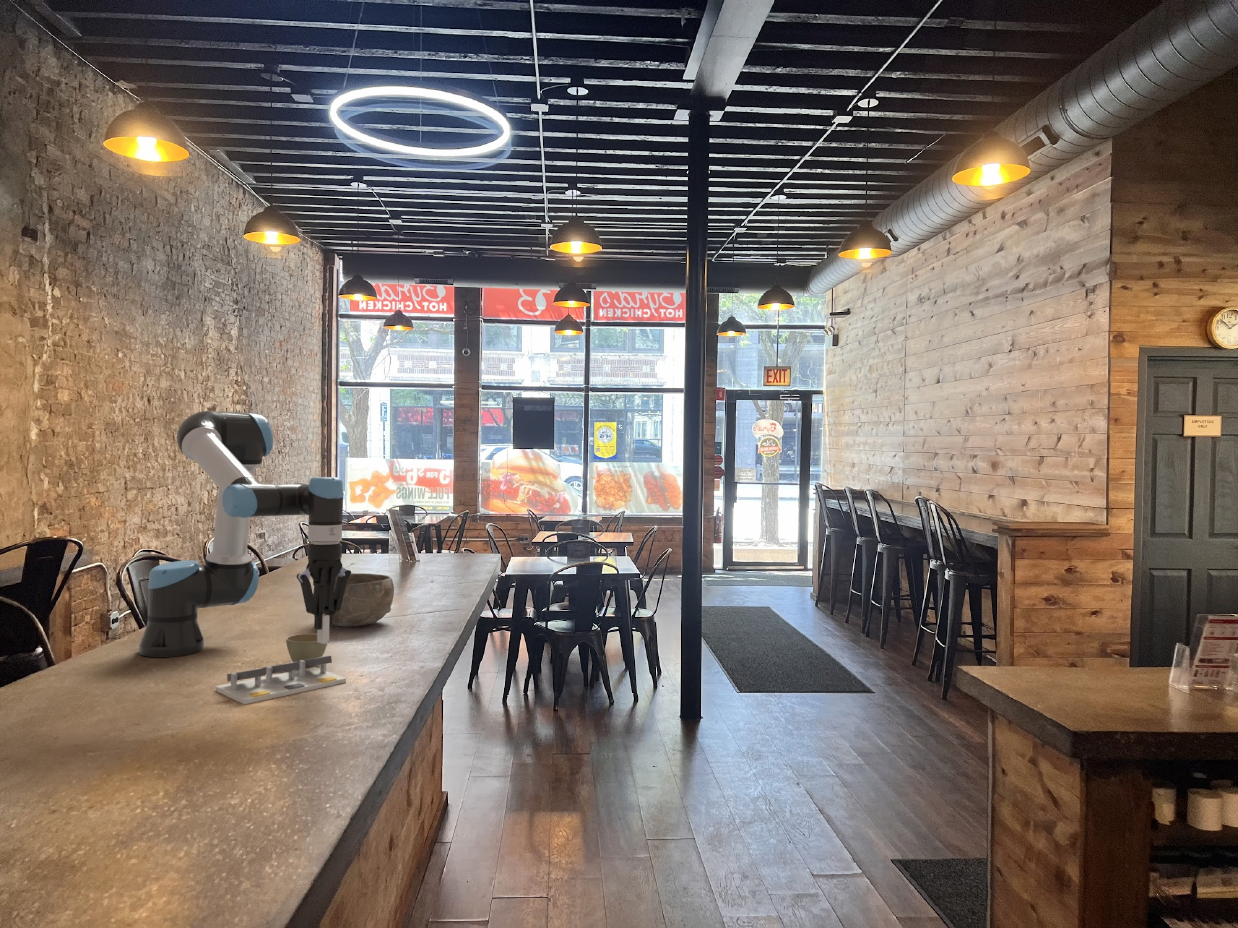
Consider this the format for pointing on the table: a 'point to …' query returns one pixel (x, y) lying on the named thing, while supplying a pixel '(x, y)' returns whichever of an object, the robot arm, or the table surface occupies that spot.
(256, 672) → the rocker
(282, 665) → the rocker
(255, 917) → the table surface
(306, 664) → the rocker
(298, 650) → the flower pot
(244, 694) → the switch unit
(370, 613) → the bowl
